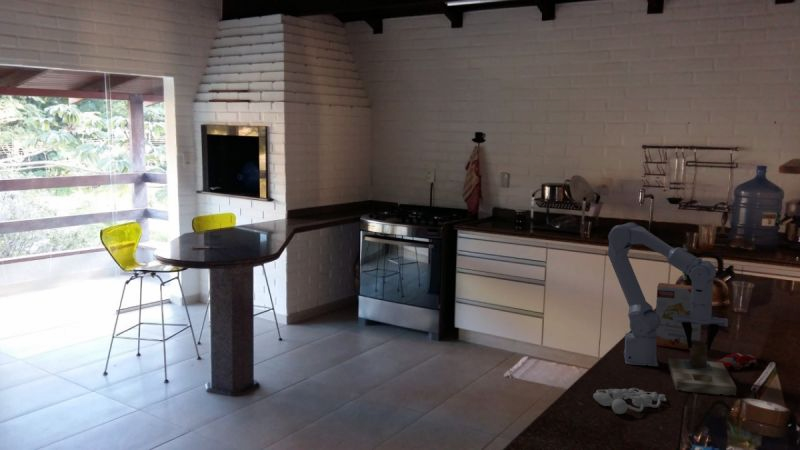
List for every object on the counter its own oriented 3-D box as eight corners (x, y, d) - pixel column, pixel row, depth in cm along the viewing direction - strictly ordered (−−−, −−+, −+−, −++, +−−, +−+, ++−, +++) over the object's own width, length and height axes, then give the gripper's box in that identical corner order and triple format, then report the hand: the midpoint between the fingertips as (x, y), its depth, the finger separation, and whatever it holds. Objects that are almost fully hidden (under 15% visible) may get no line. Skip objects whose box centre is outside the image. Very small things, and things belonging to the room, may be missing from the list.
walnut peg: (691, 367, 187) (692, 344, 186) (689, 362, 191) (690, 340, 190) (706, 368, 186) (707, 345, 185) (703, 363, 189) (705, 341, 189)
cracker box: (653, 346, 215) (656, 285, 212) (655, 341, 220) (658, 282, 217) (699, 352, 208) (702, 289, 205) (700, 346, 213) (703, 285, 211)
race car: (724, 373, 190) (725, 360, 190) (711, 366, 195) (712, 354, 195) (760, 368, 194) (761, 355, 193) (746, 362, 199) (747, 350, 198)
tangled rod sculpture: (640, 392, 179) (640, 378, 179) (680, 408, 165) (680, 392, 165) (584, 402, 172) (584, 386, 171) (621, 418, 158) (621, 402, 158)
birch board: (676, 390, 177) (676, 381, 176) (668, 366, 196) (668, 357, 195) (736, 396, 172) (736, 386, 172) (721, 370, 191) (722, 362, 191)
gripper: (676, 304, 184) (673, 350, 186) (731, 308, 180) (728, 354, 182) (673, 299, 191) (670, 342, 193) (726, 302, 187) (723, 346, 188)
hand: (698, 348), depth 188 cm, fingers open, 4 cm apart
